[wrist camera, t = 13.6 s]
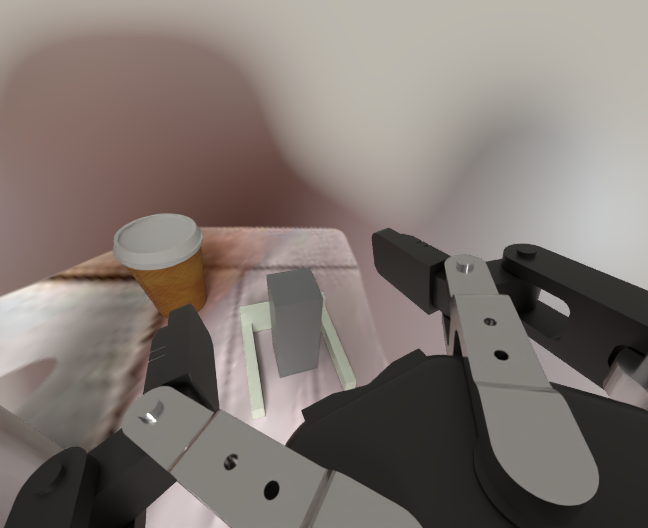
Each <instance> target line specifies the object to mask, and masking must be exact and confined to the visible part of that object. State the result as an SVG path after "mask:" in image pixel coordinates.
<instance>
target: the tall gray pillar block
mask: <svg viewBox="0 0 648 528" xmlns="http://www.w3.org/2000/svg"><path fill="white" fill-rule="evenodd" d="M267 285H268V296H269V307H270V318H271V329H272V339H273V348H274V352H275V357H276V361H277V366H278V370H279V375H280V378H282V377H285V376H289V375H293V374H297V373H300V372H304V371H308V370H311V369H315V368H317V366H318V355H319V343H320V331H321V319H322V308H323V296H322V294H321V292H320V290H319V287H318V285H317V283H316V281H315V278H314V276H313V274H312V271H311V269H310V268H306V269H300V270H293V271H287V272H281V273H275V274H269V275H267Z"/></svg>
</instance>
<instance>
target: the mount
mask: <svg viewBox="0 0 648 528" xmlns="http://www.w3.org/2000/svg"><path fill="white" fill-rule="evenodd" d="M321 294H322V296H323V308H322V319H321V332H322V334H323V337H324V340H325V342H326V345H327V348H328V350H329V353H330V356H331V358H332V361H333V364H334V366H335V369H336V372H337V374H338V377H339V380H340V382H341V385H342V388H343V390H344V391H346V390H350V389H354V388H355V386H356V382H357V380H356V378H355V376H354V373H353V371H352V369H351V366H350V364H349V361H348V359H347V357H346V354H345V352H344V350H343V347H342V345H341V343H340V340H339V338H338V336H337V333H336V331H335V328H334V326H333V324H332V321H331V319H330V317H329V314H328V312H327V310H326V307H325V302H326V297H325V294H324V292H321ZM239 308H240V315H241V325H242V334H243V342H244V351H245V360H246V368H247V377H248V386H249V394H250V403H251V411H252V416H253V420H254V419H258V418H261V417H264V416H265V411H264V404H263V397H262V391H261V384H260V377H259V371H258V364H257V357H256V351H255V344H254V337H253V332H257V331H262V330H266V329H271V318H270V307H269V301H268V302H263V303H258V304H252V305H247V306H241V307H239Z"/></svg>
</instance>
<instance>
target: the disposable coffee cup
mask: <svg viewBox="0 0 648 528" xmlns="http://www.w3.org/2000/svg"><path fill="white" fill-rule="evenodd" d="M113 240H114V247H113V254H114V256H115V258H116V259H117V260H118V261H120V262H121V263H123V264H124V265H125V266H127V268H128V269H129V271H130V272H131V273H132V275H133V276H134V277H135V279H136V280H137V282H138V283H139V284H140V286H141V287H142V289H143V290H144V291H145V293H146V294H147V295H148V297H149V298H150V299H151V301H152V302H153V304H154V305H155V306H156V308H157V309H158V310H159V312H160V313H161V315H162V316H164V317H166V318H169V312H170V311H171V310H174V309H176V308H179V307H182V306H184V305H187V304H189V303H191V304H192V305H193V306H194V308H195V310H196V311H197V312H198V311H199V310H200V309H201V308H202V307H203V306H204V305H205V303H206V298H207V297H206V289H205V279H204V270H203V260H202V250H201V244H202V240H203V233H202V231H201V229H200V228H199V227H198V226H197V225H196V224H195V222H194V221H193V220H192V219H190V218H189V217H186V216H183V215H179V214H157V215H151V216H146V217H143V218H140V219H138V220H135V221H132V222H130V223H128V224H127V225H125V226H123V227H122V228H121V229H120V230H118V232H117V233H116V234H115V236H114V239H113Z"/></svg>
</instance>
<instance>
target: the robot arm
mask: <svg viewBox="0 0 648 528" xmlns="http://www.w3.org/2000/svg"><path fill="white" fill-rule="evenodd" d="M372 246H373V255H374V263H375V267H376V269H377V271H378V273H379V274H380V275H381V276H382V277H384V278H385V279H386V280H387V281H388V282H390V283H391V284H392V285H393V286H395V287H396V288H397V289H398V290H399V291H400V292H402V293H403V294H404V295H405V296H406V297H408V298H409V299H410V300H411V301H412V302H414V303H415V304H416V305H417V306H419V307H420V308H421V309H422V310H423V311H425V312H426V313H427V314H428V315H430V314H432V313H434V312H436V311H438V310H440V311H441V312H442V324H443V331H444V338H445V345H446V352H447V355H432V356H426V355H425V354H424V353H423V352H422V351H421V350H420V349H417V350H415V351H413V352H411V353H409V354H407V355H405V356H403V357H402V358H400V359H398V360H396V361H394V362H392V363H391V364H390V365H389V366H388V367H387V368H386V369H385V370H384V371H383V372H381V373H380V374H379V375H378V376H377V377H376V378H375V379H374V380H373V381H372V382H371V383H369V384H368V385H365V386H361V387H357V388H354V389H350V390H346V391H342V392H338V393H334V394H331V395H329V396H328V397H326V398H324V399H322V400H320V401H318V402H316V403H314V404H312V405H311V406H309V407H307V408H305V409H303V410H301V411H302V414H303V416H304V419H305V422H304V423H302V424H301V425H300V426H299V427H298V428H297V430H296V431H295V432H294V433H293V434H292V436H291V437H290V438H289V440H288V441H287V443H286V445H285V446H284V445H282V444H281V443H279V442H277V441H275V440H274V439H272V438H270V437H269V436H267V435H265V434H263V433H262V432H260V431H258V430H256V429H255V428H253V427H251V426H249V425H248V424H246V423H244V422H242V421H241V420H239V419H237V418H236V417H234V416H232V415H230V414H229V413H227V412H225V411H223V410H221V409H219V400H218V390H217V379H216V369H215V359H214V349H213V343H212V340H211V337H210V334H209V332H208V330H207V329H206V327H205V325H204V323H203V322H202V320H201V318H200V316H199V315H198V313H197V311H196V310H195V308H194V306H193V305H192V304H191V303H189V304H187V305H184V306H182V307H179V308H176V309H174V310H171V311H170V312H169V320H168V326H166V327H164V328H161V329H159V331H158V333H157V334H156V336H155V337H154V339H153V340H152V345H151V351H150V352H151V354H150V356H149V363H148V368H147V374H146V380H145V386H144V392H143V395H142V396H141V397H140V398H139V399H137V400H136V401H135V402H134V403H133V405H132V406H131V407H130V408H129V410H128V411H127V413H126V415H125V416H124V419H123V422H122V428H121V429H120V430H119V431H117V432H116V433H115V434H113V435H112V436H111V437H109V438H108V439H107V440H105V441H104V442H102V443H101V444H100V445H98V446H97V447H96V448H94V449H93V450H91V451H90V452H89V453H88V452H87V451H85V450H84V449H83V448H80V447H71V448H68V449H64V448H62V447H61V446H59V445H58V444H56V443H55V442H53V441H52V440H51V439H49V438H48V437H46V436H45V435H43V434H42V433H41V432H39V431H38V430H36V429H35V428H33V427H32V426H30V425H29V424H27V423H26V422H24V421H23V420H21V419H20V418H18V417H17V416H15V415H14V414H12V413H11V412H9V411H8V410H6V409H5V408H3V407H2V406H1V405H0V528H145V523H146V508H147V507H148V506H150V505H151V504H152V503H153V502H154V501H155V500H156V499H157V498H158V497H160V496H161V495H162V494H163V493H164V492H165V491H166V490H167V489H169V488H170V487H171V486H172V485H173V484H174V483H175V482H176V481H177V482H178V483H180V484H181V485H182V486H183V487H184V488H185V489H187V490H188V491H189V492H190V493H191V494H192V495H193V496H195V497H196V498H197V499H198V500H199V501H200V502H201V503H203V504H204V505H205V506H206V507H207V508H208V509H209V510H211V511H212V512H213V513H214V514H215V515H216V516H217V517H219V518H220V519H221V520H222V521H223V522H224V523H225V524H227V525H228V526H229V527H230V528H648V291H647V290H645V289H642V288H640V287H638V286H635V285H632V284H630V283H628V282H625V281H623V280H620V279H618V278H615V277H613V276H610V275H608V274H605V273H603V272H601V271H598V270H596V269H593V268H591V267H588V266H586V265H584V264H581V263H579V262H576V261H573V260H571V259H569V258H566V257H564V256H561V255H559V254H557V253H554V252H552V251H549V250H546V249H544V248H542V247H539V246H536V245H531V244H514V245H510V246H508V247H506V248H505V249H504V252H503V257H502V259H499V260H493V261H488V262H485V261H483V260H482V259H480V258H478V257H476V256H472V255H455V256H452V257H451V256H449V255H448V254H446V253H444V252H442V251H440V250H438V249H436V248H434V247H432V246H431V245H428V244H427V243H425V242H422V241H421V240H419V239H417V238H415V237H414V236H410V235H405V234H399V233H398V232H396V231H394V230H392V229H390V228H386V229H384V230H381V231H378V232H376V233H374V234H373V235H372ZM541 289H543V290H545V291H547V292H548V293H550V294H552V295H554V296H556V297H558V298H560V299H561V300H563V301H564V302H565V303H566V304H567V305H568V307H569V309H570V315H569V317H567V316H565V315H563V314H562V313H560V312H558V311H556V310H555V309H553V308H551V307H549V306H548V305H546V304H544V303H542V302H541V301H539V300H538V298H539V294H540V291H541ZM528 337H530V338H531V339H533V340H534V341H536V342H537V343H538V344H540V345H541V346H543V347H544V348H545V349H547V350H548V351H550V352H551V353H553V354H554V355H555V356H557V357H558V358H560V359H561V360H562V361H564V362H566V363H567V364H568V365H569V366H571V367H572V368H574V369H575V370H577V371H578V372H579V373H581V374H582V375H584V376H585V377H586V378H588V379H590V380H591V381H592V382H594V383H595V384H596V385H598V386H600V387H601V388H602V389H603V390H605V391H606V393H607V394H608V396H609V397H610V398H611V399H610V398H606V397H603V396H599V395H596V394H592V393H588V392H585V391H581V390H578V389H574V388H571V387H567V386H564V385H560V384H556V383H553V382H549V381H548V379H547V377H546V375H545V373H544V370H543V368H542V366H541V364H540V362H539V359H538V357H537V355H536V353H535V351H534V349H533V347H532V344H531V342H530V340H529V338H528Z"/></svg>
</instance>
